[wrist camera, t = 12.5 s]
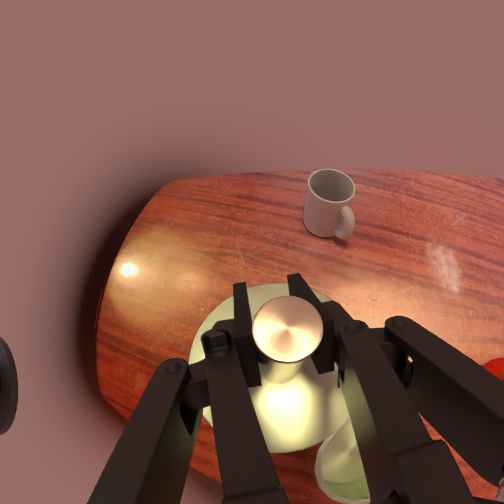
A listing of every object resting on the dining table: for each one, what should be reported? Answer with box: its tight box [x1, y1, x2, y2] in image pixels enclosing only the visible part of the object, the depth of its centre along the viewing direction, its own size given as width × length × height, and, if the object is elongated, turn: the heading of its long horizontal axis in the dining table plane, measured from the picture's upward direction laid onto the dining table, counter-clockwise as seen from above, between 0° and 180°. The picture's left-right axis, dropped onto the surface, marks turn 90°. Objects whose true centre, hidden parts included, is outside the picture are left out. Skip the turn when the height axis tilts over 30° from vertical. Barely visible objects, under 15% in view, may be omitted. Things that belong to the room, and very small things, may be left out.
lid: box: [189, 283, 350, 453], centre depth 14 cm, size 12×12×10 cm
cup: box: [303, 169, 355, 239], centre depth 42 cm, size 7×10×9 cm
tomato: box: [483, 358, 504, 381], centre depth 25 cm, size 10×11×6 cm
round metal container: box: [305, 418, 370, 504], centre depth 24 cm, size 11×11×8 cm
